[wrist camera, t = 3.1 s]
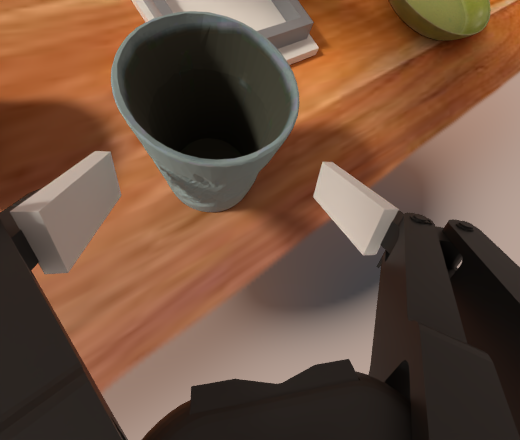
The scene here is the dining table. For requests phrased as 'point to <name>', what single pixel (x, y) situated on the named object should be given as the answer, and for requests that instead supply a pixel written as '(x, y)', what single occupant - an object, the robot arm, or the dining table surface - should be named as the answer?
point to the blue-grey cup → (205, 103)
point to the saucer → (444, 17)
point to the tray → (250, 20)
